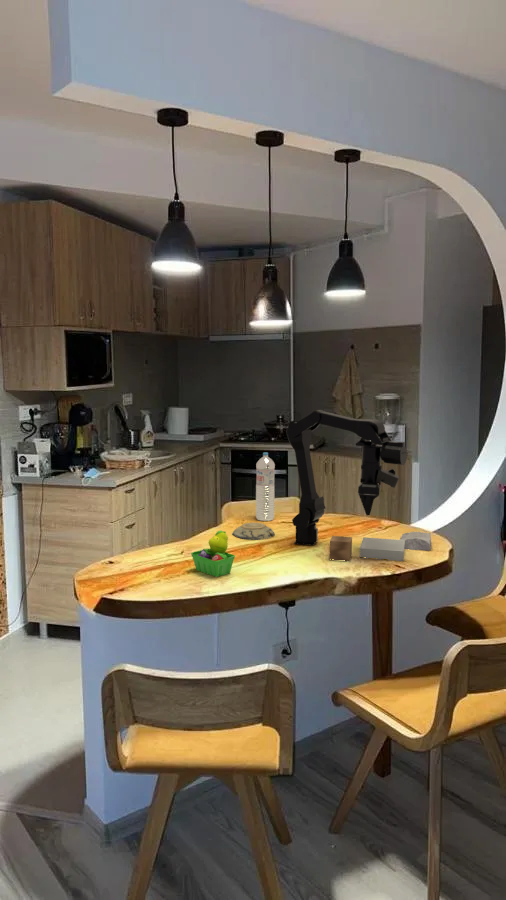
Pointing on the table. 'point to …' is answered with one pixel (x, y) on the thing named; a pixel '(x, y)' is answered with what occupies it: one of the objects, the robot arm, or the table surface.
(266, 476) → the water bottle
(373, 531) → the table surface
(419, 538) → the stone block
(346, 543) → the cube
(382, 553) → the tile
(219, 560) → the fruit basket
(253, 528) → the decorative bowl
